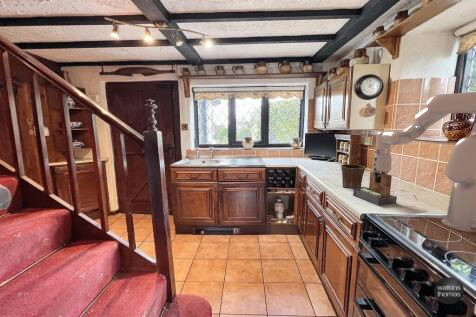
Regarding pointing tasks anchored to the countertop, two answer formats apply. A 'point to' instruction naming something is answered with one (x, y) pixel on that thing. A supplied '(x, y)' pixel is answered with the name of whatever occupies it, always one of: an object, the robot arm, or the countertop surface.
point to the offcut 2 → (375, 194)
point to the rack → (374, 198)
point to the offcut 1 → (365, 191)
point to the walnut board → (381, 184)
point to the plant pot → (352, 175)
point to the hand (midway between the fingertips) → (379, 181)
